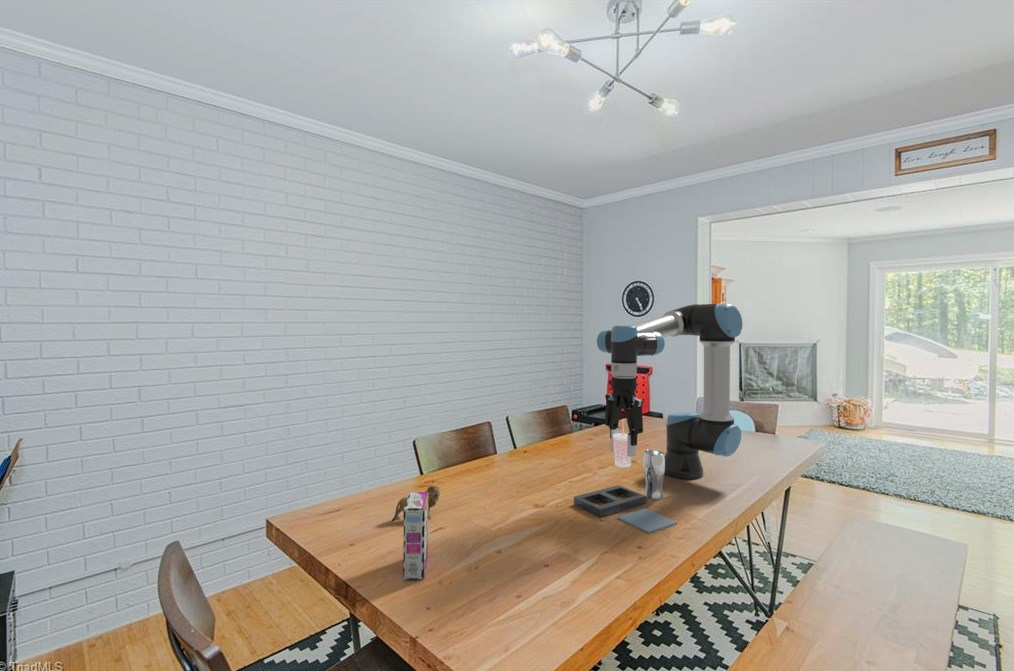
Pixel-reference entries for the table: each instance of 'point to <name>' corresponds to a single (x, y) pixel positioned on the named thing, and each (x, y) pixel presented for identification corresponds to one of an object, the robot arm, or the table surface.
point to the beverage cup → (621, 449)
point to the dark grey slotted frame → (609, 500)
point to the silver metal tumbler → (654, 473)
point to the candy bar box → (415, 536)
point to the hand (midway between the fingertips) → (623, 452)
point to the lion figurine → (432, 499)
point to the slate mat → (647, 520)
